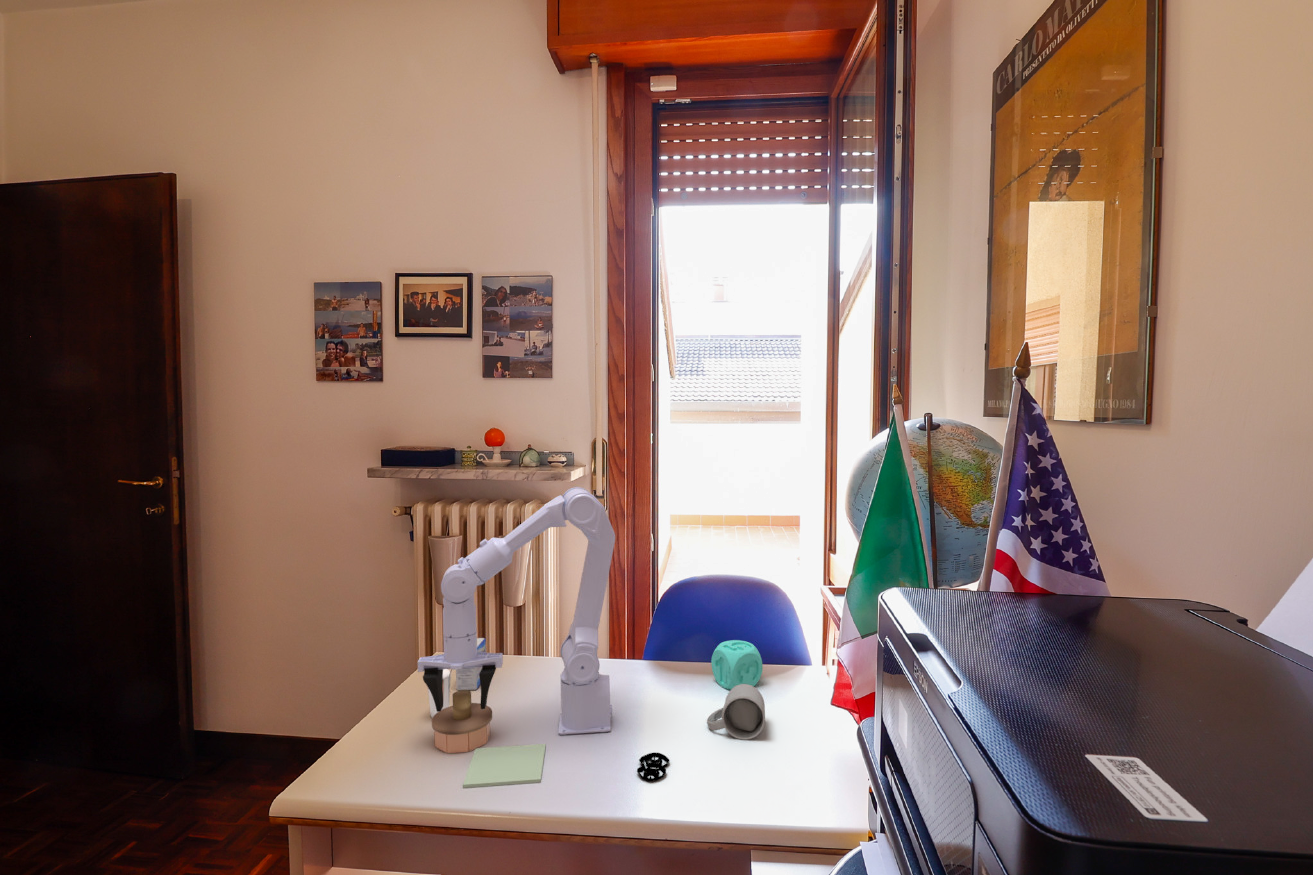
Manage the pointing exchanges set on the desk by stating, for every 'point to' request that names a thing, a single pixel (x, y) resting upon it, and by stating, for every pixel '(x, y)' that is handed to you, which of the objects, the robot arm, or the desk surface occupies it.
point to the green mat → (505, 765)
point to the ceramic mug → (740, 713)
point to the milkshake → (445, 693)
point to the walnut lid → (461, 716)
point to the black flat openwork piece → (652, 766)
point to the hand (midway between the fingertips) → (461, 707)
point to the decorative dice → (736, 664)
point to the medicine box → (470, 672)
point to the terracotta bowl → (462, 740)
